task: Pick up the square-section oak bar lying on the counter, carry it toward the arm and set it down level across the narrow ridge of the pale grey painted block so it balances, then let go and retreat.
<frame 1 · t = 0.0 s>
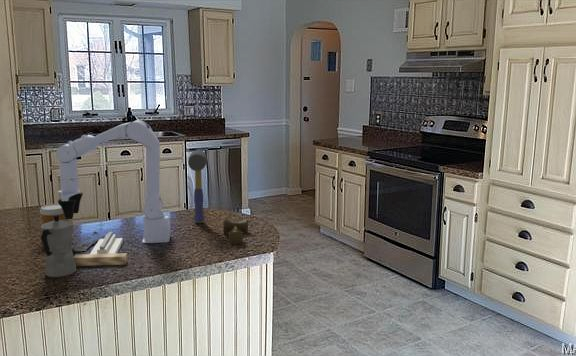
hand: (72, 216, 173), 10 cm above the counter, fingers open, 7 cm apart
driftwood: (90, 244, 176), on the counter
rubber mallet: (199, 223, 201), on the counter
oak bar: (100, 264, 156), on the counter
kendama: (235, 237, 185), on the counter
ridge block: (107, 249, 168), on the counter
disposable coffee cup: (56, 238, 180), on the counter
coffeepot: (59, 273, 148), on the counter
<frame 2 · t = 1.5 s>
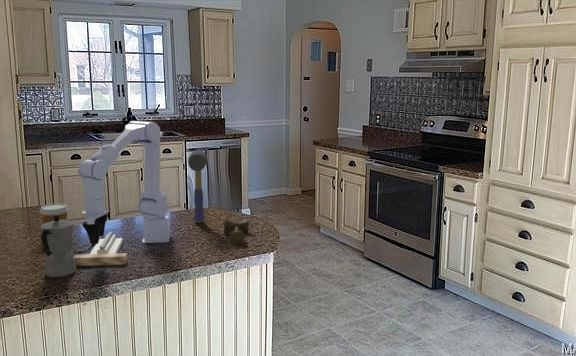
hand: (97, 239, 154), 8 cm above the counter, fingers open, 7 cm apart
nothing on the counter moved.
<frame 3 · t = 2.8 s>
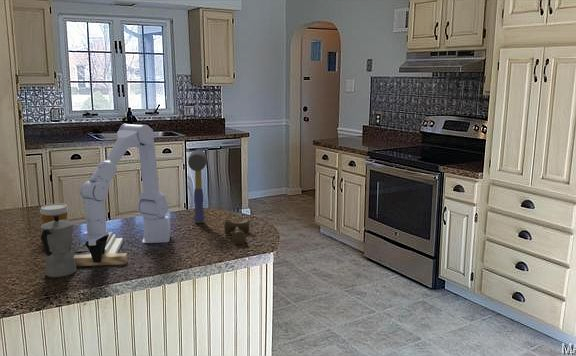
hand: (98, 259, 155), 1 cm above the counter, fingers open, 4 cm apart
oak bar: (100, 264, 156), on the counter, touching gripper
everything else where it was.
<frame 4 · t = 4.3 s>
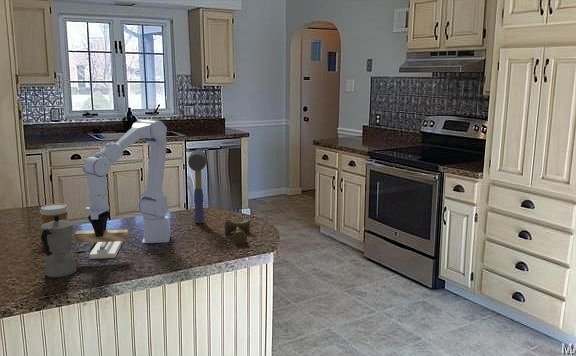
hand: (100, 234, 158), 8 cm above the counter, fingers closed on oak bar, 3 cm apart
oak bar: (102, 240, 159), point 6 cm above the counter, touching gripper
everything else where it was.
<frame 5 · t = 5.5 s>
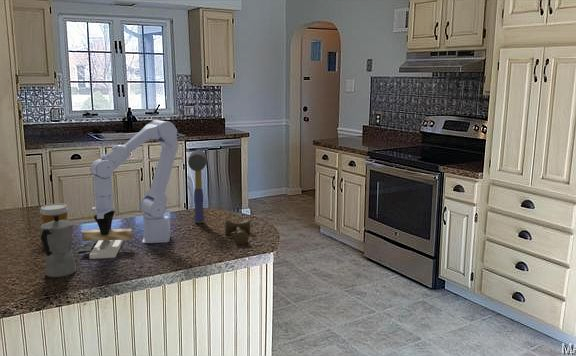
hand: (106, 233, 167), 6 cm above the counter, fingers closed on oak bar, 3 cm apart
oak bar: (107, 238, 167), point 4 cm above the counter, touching gripper, ridge block
when the fingers open (6 cm above the counter, at t = 6.0 s): oak bar stays where it is, resting on ridge block.
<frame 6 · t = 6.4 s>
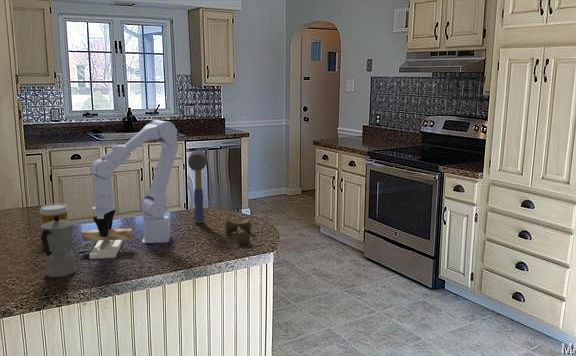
hand: (106, 233, 167), 6 cm above the counter, fingers open, 6 cm apart
oak bar: (107, 238, 167), point 4 cm above the counter, touching ridge block
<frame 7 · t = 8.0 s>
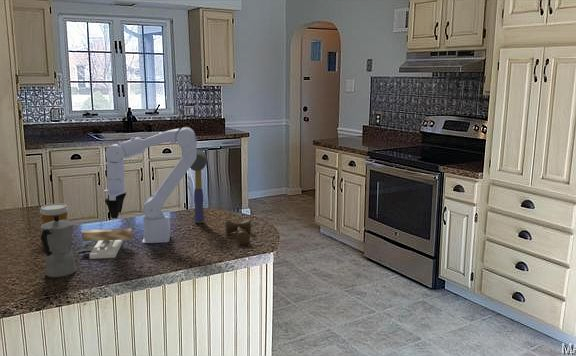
hand: (116, 215, 175), 10 cm above the counter, fingers open, 7 cm apart
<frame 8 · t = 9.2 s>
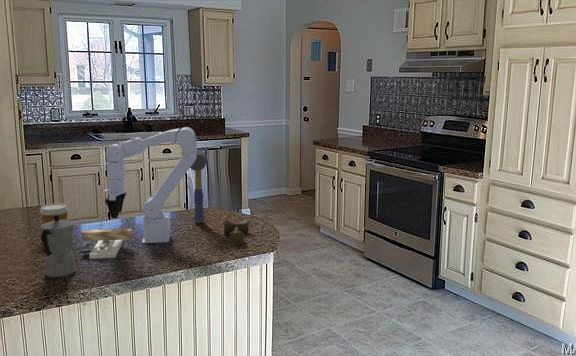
hand: (116, 215, 175), 10 cm above the counter, fingers open, 7 cm apart
kendama: (236, 237, 184), on the counter
at the end: oak bar 0.3 cm off-centre on the ridge block, point 4.0 cm above the ridge block's base; oak bar tilted 0°; the gripper is holding nothing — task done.
